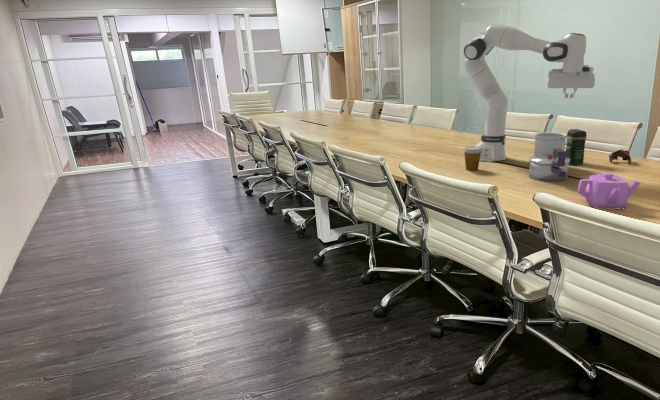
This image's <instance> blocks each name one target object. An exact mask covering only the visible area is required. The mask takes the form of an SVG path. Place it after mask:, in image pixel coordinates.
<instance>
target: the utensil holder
mask: <svg viewBox="0 0 660 400" xmlns="http://www.w3.org/2000/svg"><path fill="white" fill-rule="evenodd" d="M534 138H535V139H534V152H533V156H535V155H553V149H556V148H561V149H562V150H564V151H565V150H566V142H567V133H561V132H557V131H555V132H554V131H552V132H551V131H550V132H549V131H547V132H538V133H535V134H534Z"/></svg>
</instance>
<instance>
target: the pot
mask: <svg viewBox="0 0 660 400" xmlns="http://www.w3.org/2000/svg"><path fill="white" fill-rule="evenodd" d="M569 165H570V164H569V163H566V164H565V166H556V165H549V164H538V163H534V162H531V161H530V160H529V171H528V178H530V179H532V180H535V181H542V182H561V181H566V180H567V179H568V177H569V176H568V174H569V168H570V167H569Z"/></svg>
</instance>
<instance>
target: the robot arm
mask: <svg viewBox="0 0 660 400" xmlns="http://www.w3.org/2000/svg"><path fill="white" fill-rule="evenodd" d="M494 47H495V48H499V49H501V50H506V51H529V52H535V53H539V54H541V55H542V57H543V58H544V60H545V61H547V62H550V63H562V68H552V69H551V70H549V71H548V76H547V77H548V82H547V88H548V89H562V92H563V93H564V96H563V97H564V98H566V99H567V98H570V99H573V98H575V97H574V96H575V94H576V92H577V91H578V89H593V88H594V87H595V83H596V76H595V73H594V70H595V69H594V67H593V66H589V65H588V64H585V54H586V51H587V37H586V36H585V35H584V34H583V33H575V32H570V33H567V35H566V36H564V37H562V38H559V39H557V40H554V41H548V40H544V39H539V38H536V37H535V36H531V35H529V34H528V33H526V32H524V31H522V30H520V29H518V28H516V27H512V26H509V25H505V24H499V23H498V24H490V25H488V27H486V29H485V31H484V32H482V33H480V34H478V35H476V36H474V37H473V38H472V39H471V40H469V41H468V42H467V43H466V44H465V46H464V48H463V55H464V57H465V58H466V59H465V60H464V66H465V69H466V72H467V74H468V76H469V78H470V79H471V80H470V81H472V84H473V85H474V86H475V88H476V89H477V91H478V93H479V95H480V96H481V98H482V100H483V101H484V103H485V106H486V109H485V110H486V112H485V121H484V122H485V125H484V133H483V134H482V135H481V136H480V140H481V141H479V142H478V143H476V144H475V145H474V146H475V147H481V150H482V151H481V155H480V161H479V162H488V163H490V162H498V161H504V160H506V159H507V155H506V148H505V147H506V138H507V137H506V121H507V116H508V115H507V114H508V103H509V99H508V97H507V95H506V94H505V93H504V92H503V90H502V88H501V86H500V84H499V82H498V81H497V79H496V77H495V75H494V74H493V72H492V71H491V69H490V67H489V66H488V63H487V62H486V59H485V56H488V55H489V54H490V52H491V51H492V50H493V49H494ZM567 89H573V92H572V93H570V94H569V93H567Z"/></svg>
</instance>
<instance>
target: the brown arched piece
mask: <svg viewBox="0 0 660 400" xmlns="http://www.w3.org/2000/svg"><path fill="white" fill-rule="evenodd" d="M608 157H609V159H608V160H609V162H610V163H611V162H613V161H615V160H616V161H618V160H619V158H622V161H625V162H626V161H627V163H628V165H629V166H630V165H631V164H632V163H633V162H632V158H631V156H630V152H629V151H628V150H627V149H626V150H624V149H618V150H616V151H613V152H611V154H609V155H608Z"/></svg>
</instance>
